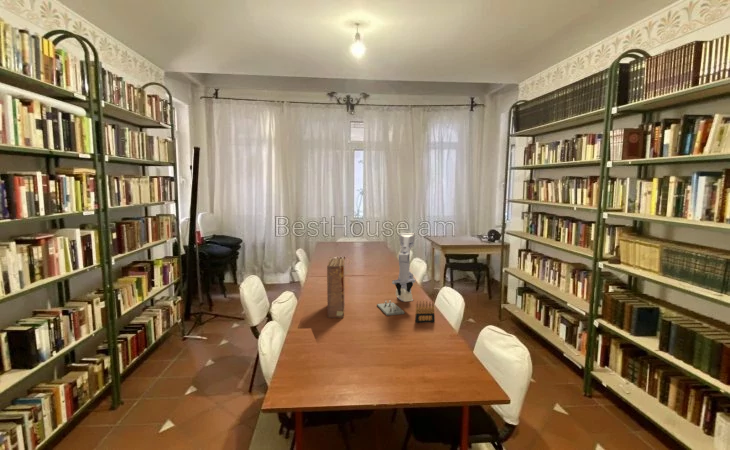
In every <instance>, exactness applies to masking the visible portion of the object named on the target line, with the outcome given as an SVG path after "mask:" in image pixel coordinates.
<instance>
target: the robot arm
mask: <svg viewBox="0 0 730 450" xmlns="http://www.w3.org/2000/svg"><path fill="white" fill-rule="evenodd" d="M415 237H416V236H415V233H414V232H400V233H399V236H398V238H399V244H400V250H399V251H400V252H399V254H398V266H399V270H398V276H397V279H394V280H391V281H392V282H391V284H392V285H395V287H396V288H395V289H397V291H398V295H399V296H400V295H401V288H403V289H405V290H406V291H408V292H410V293H411V294H412V287H414V283H416V278H414V274H413V273H412V272H411V271H410V263H411V261H410V260H411V249H412V247H414V245H415ZM396 297H397V299H398V300H399V301H401V302H404V301H403V300H402V299H400V298H399V297H398V296H396ZM413 301H414V299H413V298H412V301H411V302H413Z"/></svg>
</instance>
